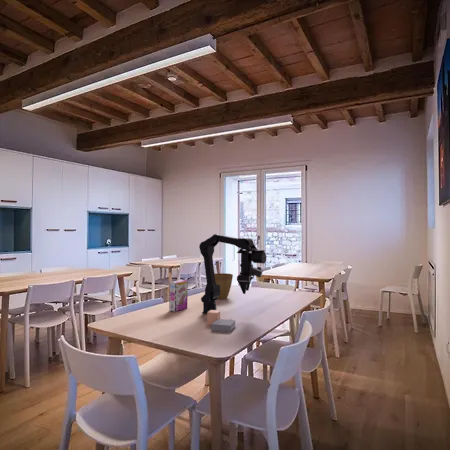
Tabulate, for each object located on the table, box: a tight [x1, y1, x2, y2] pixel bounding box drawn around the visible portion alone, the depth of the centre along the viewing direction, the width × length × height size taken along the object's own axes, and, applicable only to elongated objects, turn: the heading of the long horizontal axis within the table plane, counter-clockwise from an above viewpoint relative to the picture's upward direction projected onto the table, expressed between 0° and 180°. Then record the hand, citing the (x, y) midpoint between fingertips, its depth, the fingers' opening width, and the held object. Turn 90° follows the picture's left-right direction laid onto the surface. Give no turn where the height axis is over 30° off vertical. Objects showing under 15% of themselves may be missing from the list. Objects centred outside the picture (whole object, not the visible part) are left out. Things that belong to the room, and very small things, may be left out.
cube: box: [206, 309, 221, 326], centre depth 163 cm, size 5×5×6 cm
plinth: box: [210, 318, 236, 333], centre depth 154 cm, size 9×9×3 cm
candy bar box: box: [168, 279, 189, 313], centre depth 191 cm, size 11×5×16 cm, turn 149°
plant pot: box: [214, 272, 234, 300], centre depth 222 cm, size 15×15×16 cm
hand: (245, 292), depth 173 cm, fingers open, 9 cm apart
